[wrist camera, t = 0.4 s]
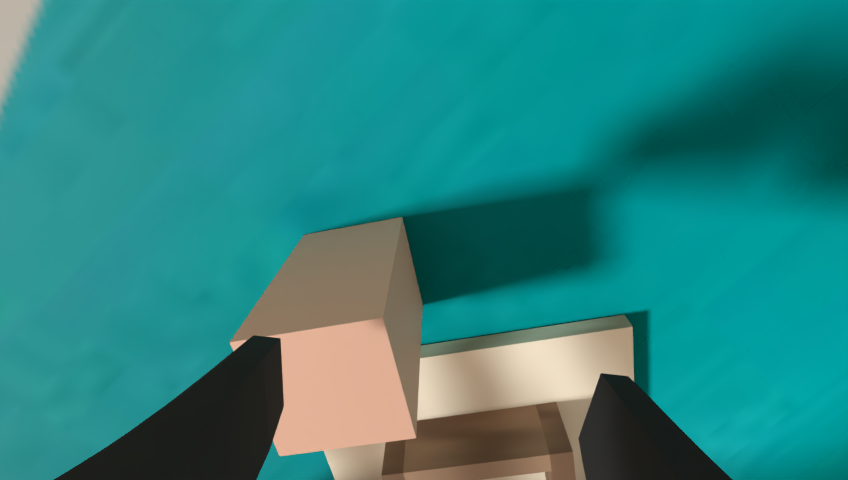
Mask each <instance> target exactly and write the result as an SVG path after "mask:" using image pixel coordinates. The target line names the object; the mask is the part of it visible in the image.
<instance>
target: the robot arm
mask: <svg viewBox="0 0 848 480" xmlns="http://www.w3.org/2000/svg"><path fill="white" fill-rule="evenodd" d="M283 408H284V396H283V376H282V357H281V338H274V337H265V336H256V335H253V336H252V337H251V338H249V339H248V340H247V341H246V342H244V343H243V344H242V345H241V346H239V347H238V348H237V349H236V350H235V351H233V352H232V353H231V354H230V355H228V356H227V357H226V358H225V359H224V360H222V361H221V362H220V363H219V364H218V365H216V366H215V367H214V368H213V369H211V370H210V371H209V372H208V373H206V374H205V375H204V376H203V377H202V378H200V379H199V380H198V381H196V382H195V383H194V384H193V385H191V386H190V387H189V388H187V389H186V390H185V391H184V392H182V393H181V394H180V395H179V396H177V397H176V398H175V399H173V400H172V401H171V402H169V403H168V404H167V405H166V406H164V407H163V408H161V409H160V410H159V411H157V412H156V413H154V414H153V415H152V416H150V417H149V418H148V419H146V420H145V421H143V422H142V423H141V424H139V425H138V426H136V427H135V428H134V429H132V430H131V431H130V432H128V433H127V434H125V435H124V436H122V437H121V438H119V439H118V440H116V441H115V442H113V443H112V444H110V445H109V446H107V447H106V448H104V449H103V450H101V451H100V452H98V453H97V454H95V455H93V456H92V457H90V458H89V459H87V460H85V461H84V462H82V463H81V464H79V465H77V466H76V467H74V468H72V469H71V470H69V471H68V472H66V473H64V474H63V475H61V476H59V477H58V478H56V479H54V480H256V479H257V477H258V474H259V472H260V470H261V468H262V466H263V463H264V461H265V459H266V457H267V454H268V452H269V450H270V447H271V444H272V441H273V438H274V435H275V432H276V430H277V426H278V423H279V420H280V417H281V414H282V411H283ZM578 439H579V445H580V450H581V456H582V462H583V467H584V472H585V477H586V480H732V479H731V478H730V477H729V476H728V475H727V474H726V473H725V472H724V471H723V470H722V469H721V468H720V467H718V466H717V465H716V464H715V463H714V462H713V461H712V460H711V459H710V458H709V457H708V456H707V455H706V454H705V453H704V452H703V451H702V450H701V449H700V448H699V447H698V446H697V445H696V444H695V443H694V442H693V441H692V440H691V439H690V438H689V437H688V436H687V435H686V434H685V433H684V432H683V431H682V430H681V429H680V428H679V427H678V426H677V425H676V424H675V423H674V422H673V421H672V420H671V419H670V418H669V417H668V416H667V415H666V414H665V413H664V412H663V411H662V410H661V409H660V408H659V407H658V405H657V404H656V403H655V402H654V401H653V400H652V399H651V398H650V397H649V396H648V395H647V394H646V393H645V392H644V391H643V390H642V389H641V388H640V387H639V386H638V385H637V384H636V383H635V382H634V381H633V380H632V379H631V378H629V377H628V376H622V375H613V374H604V373H601V374H600V377H599V380H598V383H597V386H596V388H595V391H594V394H593V397H592V400H591V403H590V406H589V409H588V412H587V415H586V418H585V420H584V423H583V426H582V429H581V432H580V435H579V438H578Z"/></svg>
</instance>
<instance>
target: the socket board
mask: <svg viewBox="0 0 848 480" xmlns="http://www.w3.org/2000/svg"><path fill="white" fill-rule="evenodd" d="M601 373H604V374H613V375H622V376H628V377H629V378H631V379H632V380H633V381H634V356H633V326H632V325H631V323H630V322H629V321H628V319H627V318H626V316H625V315H618V316H612V317H605V318H598V319H592V320H585V321H579V322H572V323H566V324H559V325H553V326H546V327H539V328H533V329H526V330H520V331H513V332H507V333H500V334H493V335H487V336H480V337H474V338H467V339H461V340H454V341H448V342H441V343H434V344H428V345H421V350H420V371H419V391H418V411H417V432H416V438H414V439H407V440H399V441H391V442H384V443H376V444H369V445H361V446H354V447H346V448H338V449H331V450H324V453H325V455H326V458H327V460H328V463H329V466H330V468H331V471H332V473H333V476H334V479H335V480H586V477H585V472H584V467H583V462H582V456H581V450H580V445H579V439H578V438H579V435H580V432H581V429H582V426H583V423H584V420H585V418H586V415H587V412H588V409H589V406H590V403H591V400H592V397H593V394H594V391H595V388H596V386H597V383H598V380H599V377H600V374H601Z"/></svg>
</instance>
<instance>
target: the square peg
mask: <svg viewBox="0 0 848 480" xmlns="http://www.w3.org/2000/svg"><path fill="white" fill-rule="evenodd" d="M422 309H423V304H422V299H421V295H420V291H419V286H418V282H417V278H416V273H415V269H414V265H413V261H412V256H411V252H410V248H409V243H408V239H407V235H406V231H405V226H404V222H403V218H402V217H399V218H394V219H388V220H383V221H377V222H372V223H366V224H361V225H355V226H350V227H344V228H339V229H333V230H328V231H322V232H317V233H311V234H306V235H303V237H302V238H301V240H300V241H299V243H298V244H297V246H296V247H295V248H294V250H293V251H292V253H291V254H290V256H289V257H288V259H287V260H286V261H285V263H284V264H283V266H282V267H281V269H280V270H279V272H278V273H277V274H276V276H275V277H274V279H273V280H272V282H271V283H270V285H269V286H268V287H267V289H266V290H265V292H264V293H263V295H262V296H261V298H260V299H259V301H258V302H257V303H256V305H255V306H254V308H253V309H252V311H251V312H250V314H249V315H248V316H247V318H246V319H245V321H244V322H243V324H242V325H241V327H240V328H239V329H238V331H237V332H236V334H235V335H234V337H233V338H232V340H231V341H230V344H231V347H232V349H233V351H235V350H236V349H237V348H238V347H239V346H241V345H242V344H243V343H244V342H246V341H247V340H248V339H249V338H251V337H252V336H253V335H256V336H265V337H274V338H281V357H282V376H283V396H284V408H283V411H282V414H281V417H280V420H279V423H278V426H277V430H276V432H275V435H274V438H273V442H274V444H275V447H276V449H277V451H278V453H279V456H286V455H293V454H301V453H308V452H316V451H323V450H331V449H338V448H346V447H354V446H361V445H369V444H376V443H384V442H391V441H399V440H407V439H414V438H416V432H417V411H418V391H419V371H420V350H421V330H422Z"/></svg>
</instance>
